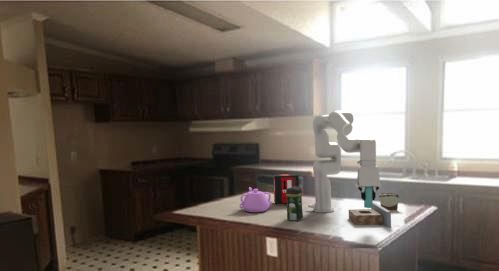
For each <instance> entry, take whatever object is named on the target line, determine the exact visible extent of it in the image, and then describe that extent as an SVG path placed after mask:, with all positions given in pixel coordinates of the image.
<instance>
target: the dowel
mask: <svg viewBox="0 0 499 271" xmlns="http://www.w3.org/2000/svg"><path fill="white" fill-rule="evenodd" d="M364 192H365V200H363V207H364V209H365V208H366V209H371V208H373V201H374V200H373V193H372V187H365V190H364Z"/></svg>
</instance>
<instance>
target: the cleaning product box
mask: <svg viewBox="0 0 499 271" xmlns="http://www.w3.org/2000/svg"><path fill="white" fill-rule="evenodd" d="M299 177H300V176H299V174H298V173H287V174H285V173H283V174H273V199H274V201H273V202H275V203H274V205H275V204H287V195H286V190H287V189H288V188H291V187H293V186H297V187H300V184H299V182H300V180H299Z"/></svg>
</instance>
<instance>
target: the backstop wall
mask: <svg viewBox="0 0 499 271" xmlns="http://www.w3.org/2000/svg"><path fill="white" fill-rule="evenodd" d="M370 209H374V210H376V211H377V212H379V213H381V214H382V215H383V225H384V226H385V227H386V228H392V214H391V213H392V212H391V210H387V209H385V208H383V207H382V206H381V204H378V203H377V202H373V208H370Z"/></svg>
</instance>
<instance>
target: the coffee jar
mask: <svg viewBox="0 0 499 271" xmlns="http://www.w3.org/2000/svg"><path fill="white" fill-rule="evenodd" d="M302 190H303V189H302V187H301V186H299V187H297V186H293V187H291V188H288V189H287V190H286V195H287V205H286V219H287V220H288V221H290V222H295V221H297V222H298V221H301V220H302V219H303V217H304V215H303V214H304V213H303V198H302V197H303V191H302Z"/></svg>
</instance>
